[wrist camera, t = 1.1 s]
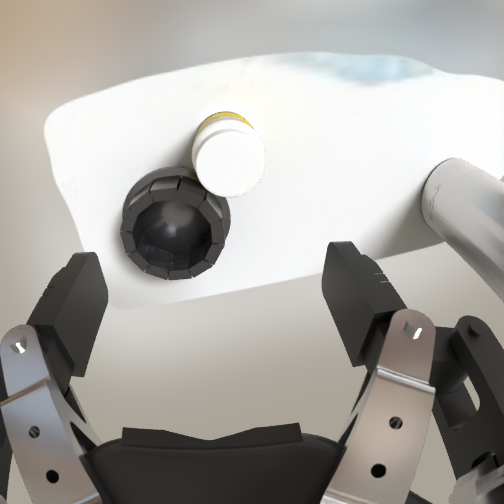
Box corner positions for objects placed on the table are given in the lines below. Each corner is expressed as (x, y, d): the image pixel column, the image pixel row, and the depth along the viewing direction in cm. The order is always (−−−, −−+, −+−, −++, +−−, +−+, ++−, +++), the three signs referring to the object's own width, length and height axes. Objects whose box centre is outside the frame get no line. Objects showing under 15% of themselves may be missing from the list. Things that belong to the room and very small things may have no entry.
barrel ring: (226, 161, 25) (228, 173, 22) (233, 259, 30) (236, 280, 27) (113, 175, 24) (101, 189, 21) (136, 268, 29) (130, 289, 26)
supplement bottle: (252, 164, 25) (269, 204, 18) (197, 166, 25) (190, 206, 18) (254, 110, 23) (273, 125, 16) (195, 111, 22) (186, 127, 15)
